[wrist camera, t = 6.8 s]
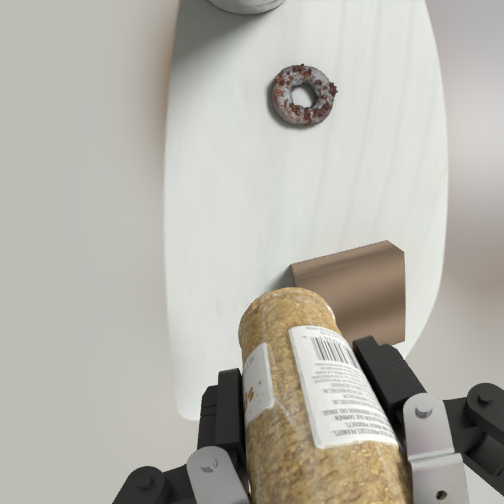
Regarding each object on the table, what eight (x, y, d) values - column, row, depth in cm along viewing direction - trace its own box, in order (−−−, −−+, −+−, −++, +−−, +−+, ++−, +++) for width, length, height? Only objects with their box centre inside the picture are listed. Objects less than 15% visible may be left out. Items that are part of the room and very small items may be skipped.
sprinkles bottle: (217, 322, 14) (202, 657, 1) (300, 263, 13) (459, 620, 1) (276, 379, 15) (319, 640, 3) (351, 330, 15) (478, 588, 2)
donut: (322, 147, 30) (328, 148, 28) (248, 120, 29) (248, 118, 27) (348, 75, 27) (355, 71, 25) (276, 46, 26) (278, 40, 24)
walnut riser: (290, 264, 33) (297, 279, 29) (387, 240, 32) (404, 252, 29) (306, 348, 36) (313, 368, 32) (391, 323, 36) (404, 340, 32)
